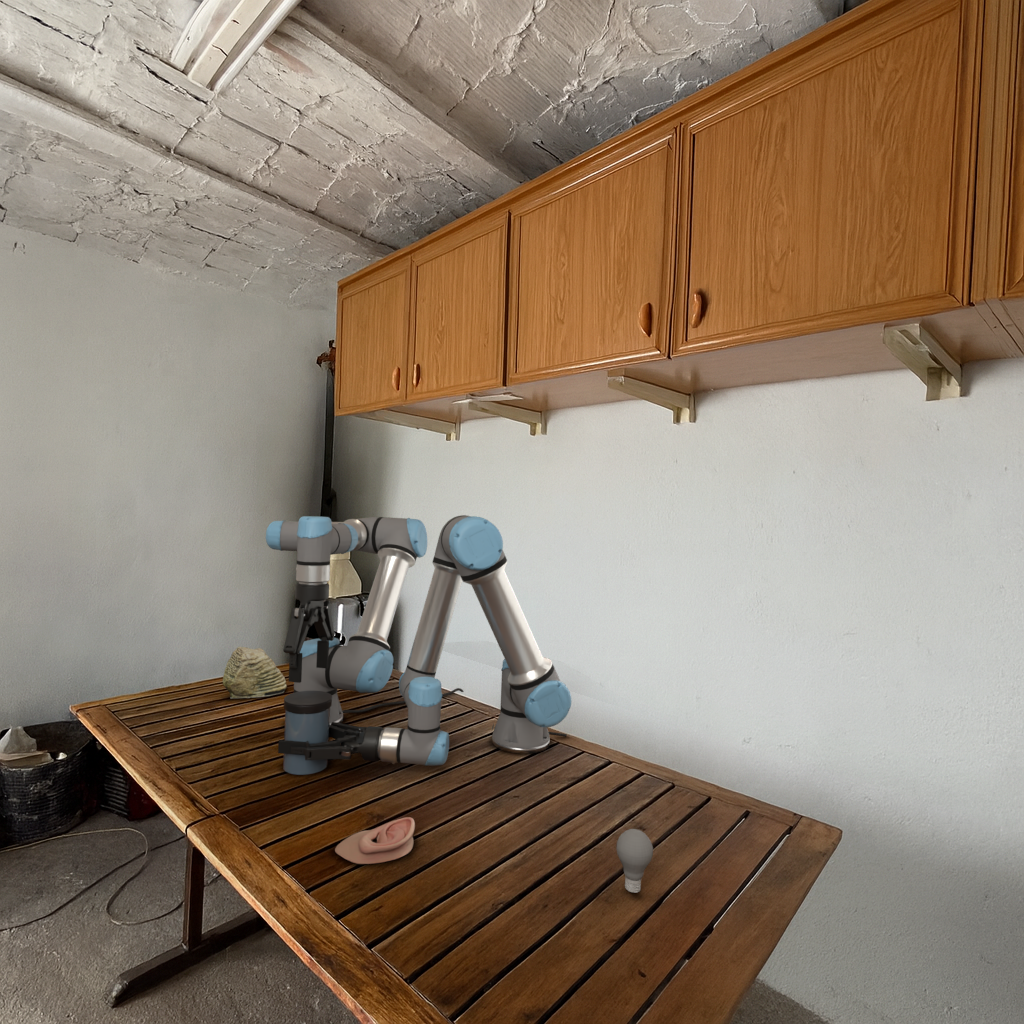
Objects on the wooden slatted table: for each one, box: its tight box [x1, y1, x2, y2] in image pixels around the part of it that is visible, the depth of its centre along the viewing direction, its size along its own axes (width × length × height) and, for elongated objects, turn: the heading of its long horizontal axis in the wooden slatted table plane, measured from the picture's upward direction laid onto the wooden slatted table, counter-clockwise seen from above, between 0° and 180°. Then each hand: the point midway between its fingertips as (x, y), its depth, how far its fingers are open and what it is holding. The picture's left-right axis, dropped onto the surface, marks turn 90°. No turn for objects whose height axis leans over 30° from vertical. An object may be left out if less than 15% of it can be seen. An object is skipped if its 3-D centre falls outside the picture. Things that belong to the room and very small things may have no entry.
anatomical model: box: [334, 816, 416, 865], centre depth 115 cm, size 13×4×12 cm
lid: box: [283, 691, 332, 714], centre depth 148 cm, size 11×11×2 cm
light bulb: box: [615, 828, 654, 894], centre depth 106 cm, size 6×6×10 cm
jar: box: [282, 708, 330, 776], centre depth 148 cm, size 10×10×16 cm
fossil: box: [222, 646, 288, 699], centre depth 198 cm, size 9×18×15 cm, turn 132°
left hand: (309, 674), depth 148 cm, fingers open, 12 cm apart
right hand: (288, 737), depth 149 cm, fingers closed on jar, 10 cm apart
